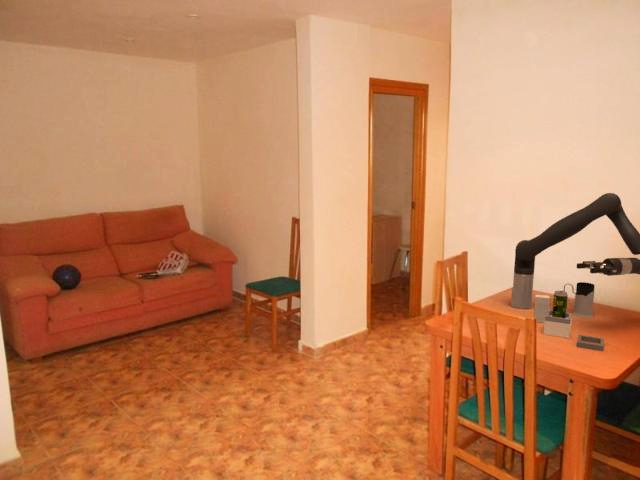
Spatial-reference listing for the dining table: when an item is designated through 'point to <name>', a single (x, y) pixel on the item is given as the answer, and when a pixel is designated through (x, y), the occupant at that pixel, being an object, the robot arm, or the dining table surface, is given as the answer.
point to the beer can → (559, 304)
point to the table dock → (590, 345)
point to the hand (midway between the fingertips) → (583, 268)
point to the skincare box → (541, 307)
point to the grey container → (583, 299)
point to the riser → (558, 325)
